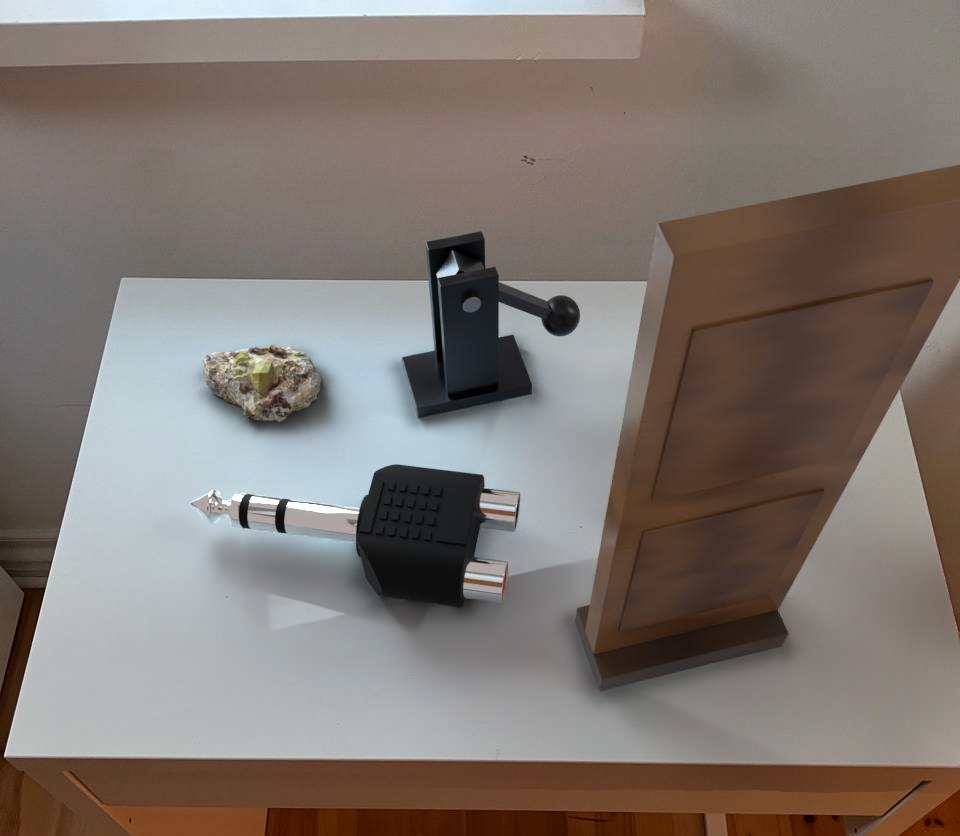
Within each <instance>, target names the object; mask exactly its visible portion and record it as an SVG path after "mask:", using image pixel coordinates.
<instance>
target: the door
mask: <svg viewBox="0 0 960 836" xmlns="http://www.w3.org/2000/svg"><path fill="white" fill-rule="evenodd" d="M654 236H655V237H654V242H653V246H652V252H651V258H650V264H649V269H648V270H649V271H648V275H647V281H646V286H645V292H644V297H643V302H642V309H641V315H640V319H639V326H638V331H637V336H636V343H635V348H634V353H633V360H632V364H631V371H630V376H629V382H628V388H627V394H626V399H625V404H624V411H623V415H622V422H621V425H620V426H621V427H620V433H619V439H618V444H617V450H616V454H615V459H614V460H615V461H614V466H613V470H612V471H613V472H612V478H611V483H610V489H609V493H608V500H607V504H606V505H607V506H606V511H605V516H604V517H605V518H604V522H603V529H602V532H601V533H602V534H601V539H600V545H599V550H598V557H597V563H596V567H595V574H594V578H593V584H592V590H591V595H590V601H589V604H588V605H583V606H579V607H576V611H575V618H574V622H575V625H576V628H577V632H578V634H579V637H580V640H581V642H582V645H583V648H584V651H585V655H586V657H587V660H588V664H589V666H590V668H591V672H592V674H593V677H594V681H595V683H596V686H597V689H598V691H599V692H600V691H606V690H609V689H614V688H617V687H621V686H627V685H629V684H634V683H638V682H642V681H646V680H650V679H655V678H658V677H662V676H666V675H671V674H674V673H679V672H683V671H687V670H691V669H695V668H700V667H702V666H707V665H711V664H715V663H720V662H723V661H727V660H731V659H735V658H740V657H743V656H748V655H752V654H755V653H756V654H757V653H760V652H765V651H768V650H772V649H777V648H780V647H782V646H783V645H784V643H785V642H786V640H787V639H788V637H789V635H790V633H789V631H788V629H787V627H786V624H785V622H784V619H783V618H782V616H781V613H780V612H779V609H780V608H781V606H782V604H783V603H784V600H785V599H786V597H787V596H788V593H789V591H790V589H791V588H792V586H793V585H794V582H795V580H796V579H797V577H798V575H799V573H800V571H801V569H802V568H803V566H804V564H805V563H806V561H807V558H808V557H809V555H810V553H811V551H812V549H813V547H814V546H815V544H816V542H817V541H818V538H819V537H820V535H821V534H822V531H823V530H824V527H825V526H826V524H827V522H828V520H829V519H830V517H831V515H832V513H833V511H834V510H835V507H836V506H837V504H838V503H839V500H840V499H841V497H842V495H843V493H844V492H845V489H846V488H847V486H848V484H849V482H850V481H851V478H852V477H853V475H854V473H855V471H856V470H857V468H858V466H859V464H860V462H861V460H862V459H863V456H864V455H865V453H866V451H867V449H868V448H869V446H870V444H871V442H872V441H873V439H874V437H875V435H876V433H877V431H878V430H879V428H880V426H881V425H882V422H883V421H884V418H885V417H886V415H887V413H888V412H889V410H890V408H891V406H892V404H893V402H894V401H895V399H896V396H897V395H898V393H899V391H900V389H901V388H902V386H903V384H904V382H905V381H906V379H907V377H908V376H909V373H910V371H911V370H912V368H913V366H914V364H915V362H916V360H917V358H918V357H919V355H920V353H921V351H922V349H923V348H924V346H925V343H926V342H927V341H928V339H929V337H930V335H931V333H932V332H933V329H934V328H935V326H936V324H937V322H938V320H939V319H940V317H941V315H942V313H943V311H944V310H945V308H946V306H947V304H948V302H949V300H950V299H951V297H952V296H953V293H954V291H955V290H956V287H957V286H958V284H959V282H960V163H959V164H954V165H949V166H943V167H939V168H934V169H929V170H923V171H918V172H913V173H908V174H903V175H897V176H892V177H887V178H882V179H877V180H872V181H867V182H862V183H856V184H851V185H846V186H841V187H836V188H831V189H825V190H821V191H816V192H810V193H805V194H799V195H794V196H790V197H785V198H784V197H783V198H780V199H775V200H768V201H763V202H759V203H754V204H749V205H743V206H739V207H733V208H728V209H723V210H717V211H713V212H712V211H711V212H708V213H707V212H706V213H703V214H698V215H692V216H688V217H682V218H677V219H672V220H667V221H661V222H658V223H657V224H656V230H655V235H654Z"/></svg>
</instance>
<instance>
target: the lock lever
mask: <svg viewBox="0 0 960 836" xmlns="http://www.w3.org/2000/svg"><path fill="white" fill-rule="evenodd" d="M481 269H484V266H483V264H482V262H481V261H478V260H476V259H473V258H471V257H468V256H466V255H463V254H461V253H458V252H456V251H454V250H452V251H451V253H450V254H449V256H448V257H447V259H446V260H445V262H444V263H443V265H442V266H441V268H440V269H439V271H438V272H437V274H436V276H437V279H438V278H440V277H445V276H450V275H455V274H460V273H465V272H470V271H476V270H481ZM499 304H502V305H506V306H508V307H511V308H513V309H516V310H519V311H521V312H524V313H527V314H529V315H532V316H535V317H537V318H540V320H541V323H542V326H543V328H544V330H546V332H547V333H549V334H550V335H552V336H555V337H566V336H568V335H570V334H572V333H573V332H574V331H575V330H576V329H577V327H578V326H579V323H580V321H581V320H580V319H581V310H580V307H579V305H578V304H577V302H576V301H575V300H574V299H573V298H572V297H570V296H567V295H555V296H553V297H550V298H549V299H548V300H546V299H543V298H541V297H538V296H536V295H533V294H530V293H528V292H525V291H523V290H521V289H518V288H515V287H513V286H510V285H507V284H505V283H503V282H500V281H499Z"/></svg>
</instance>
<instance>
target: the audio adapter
mask: <svg viewBox="0 0 960 836" xmlns="http://www.w3.org/2000/svg"><path fill="white" fill-rule="evenodd" d="M485 482H486V481H485V476H484V474H480V473H474V472H473V473H472V472H464V471H456V470H447V469H440V468H439V469H438V468H431V467H424V466H415V465H407V464H397V463H396V464H395V463H394V464H390V465H386V466H383V467H381V468H379V469H376V470H375V471H374V472H373V475H372V479H371V483H370V487H369V490H368V493H367V494H365V495H364V497H363V498H362V500H361V503H360V506H359V507H358V506H351V505H343V504H335V503H328V502H327V503H326V502H319V501H312V500H311V501H310V500H303V499H295V498H283V497H279V496H272V495H263V494H251V493H247V492H236V493H234V494H233V495H232V497H231V498H229V499H225V498H224V497H223V496H222V494H221V492H220V491H219V489H216V488H215V489H214V488H213V489H212V490H209V491H208V492H206V493H204V494H202V495H201V496H199V497H197V498H195V499H193V500H192V501H190V503H189V505H190V507H191V508H192V509H193V510H194V511H195V512H196V513H197V514H198V515H199V516H201V518H203V519H204V520H205V521H206V522H207V523H208V524H209V525H212V526H213V525H216V524H218V522H219V521H220V519H222V518H226V519H228V520H229V523H230V525H231V526H232V527H234V528H236V529H243V530H245V529H247V530H251V531H258V532H266V533H273V534H284V535H285V534H286V535H289V536H297V537H304V538H312V539H319V540H326V541H327V540H329V541H334V542H335V541H336V542H343V543H351V544H355V548H356V554H357V556H358V558H360V560H361V565H362V569H363V573H364V576H365V579H366V581H367V582H368V584H369V585H370V586H371V588H372V589H373V591H374V592H375V593H376V594H377V595H378V596H379V597H381V598H386V599H387V598H388V599H394V600H395V599H396V600H403V601H409V602H415V603H417V602H418V603H424V604H432V605H439V606H447V607H453V608H460V609H461V608H462V607H463V606H464V604H465V602H466V599H469V600H475V601H476V600H477V601H478V600H479V601H485V602H491V603H499V604H502V603H503V602H504V598H505V594H506V591H507V590H506V589H507V583H508V574H509V561H507V560H501V559H492V558H487V557H485V558H484V557H478V556H475V554H476V549H477V544H478V541H479V540H478V539H479V535H480V529H487V530H495V531H502V532H503V531H504V532H510V533H511V532H512V533H515V532H516V529H517V526H518V522H519V514H520V508H521V491H517V490H507V489H501V488H500V489H499V488H493V487H492V488H490V487H485V485H486V483H485Z"/></svg>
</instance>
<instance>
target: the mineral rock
mask: <svg viewBox="0 0 960 836" xmlns="http://www.w3.org/2000/svg"><path fill="white" fill-rule="evenodd" d="M202 361H203V367H204V368H203V375H204V378H205V382H206V386H208V387H209V388H210V389H211V390H212V392H213V394H214V395H216V396H218V397H219V398H222V399H223V400H224V401H225V402H226V403H228V404H231V405H235V406H240V407H241V408H242V410H243V412H242V415H244V416H245V417H247V418H250V419H251V420H252V421H262V422H265V423H267V422H272V421H273V422H274V421H276V422H278V423H282V422H284V421H285V420H286V419H287V418H288V416H290V415H291V413H292V412H298V411H300V410H303V409H305V408H308V407H309V406H310V405H311V403H312V402H313V401H315V400H317V399H318V398H317V395H318V394H319V392H320V390H321V389H322V388H321V381H322V379H321V378H322V376H321V375H320V373H318V370H317V369H316V367H315V364H314V362H313V360H312V359H311V358H310V357H307V353H306V352H304V351H302V350H296V348H295V347H293V346H288V347H287V348H286V347H283V346H282V347H279V346H277V345H273V344H271V345H269V346H266V347H263V348H261V347H257V346H254V347H247V348H243V349H242V348H241V349H237V350H234V351H227V352H225V351H213V352H212V353H210V354H207V355H206V356H205V358H204V359H203V360H202Z"/></svg>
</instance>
